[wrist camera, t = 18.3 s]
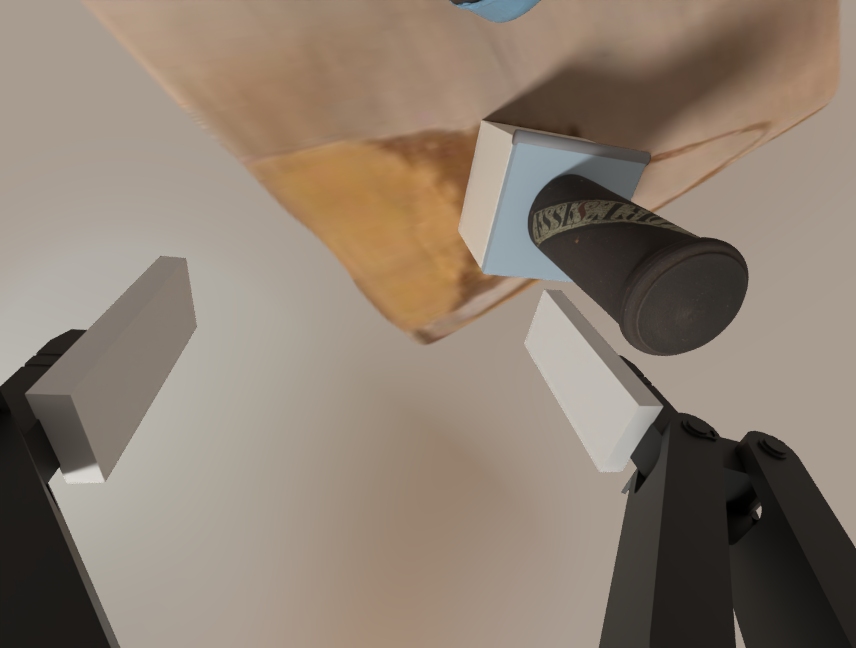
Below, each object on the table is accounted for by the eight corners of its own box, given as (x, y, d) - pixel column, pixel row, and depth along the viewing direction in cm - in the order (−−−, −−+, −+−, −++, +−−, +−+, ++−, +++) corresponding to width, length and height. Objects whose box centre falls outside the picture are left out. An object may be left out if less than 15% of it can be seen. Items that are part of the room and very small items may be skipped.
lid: (591, 279, 49) (597, 284, 48) (479, 268, 46) (482, 274, 45) (644, 151, 42) (652, 153, 40) (514, 128, 39) (519, 130, 37)
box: (481, 120, 49) (513, 135, 39) (584, 138, 52) (638, 157, 42) (458, 230, 56) (479, 267, 46) (549, 240, 59) (588, 277, 49)
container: (596, 157, 40) (769, 223, 23) (607, 236, 45) (756, 337, 28) (514, 193, 41) (625, 282, 24) (534, 267, 46) (637, 384, 29)
